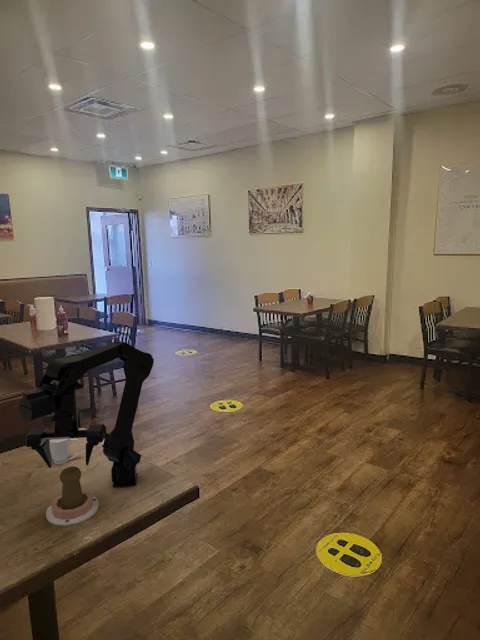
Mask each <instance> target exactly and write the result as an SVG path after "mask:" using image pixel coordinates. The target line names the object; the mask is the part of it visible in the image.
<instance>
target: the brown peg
mask: <svg viewBox="0 0 480 640" xmlns="http://www.w3.org/2000/svg"><path fill="white" fill-rule="evenodd" d="M59 473H60V474H59V480H60V482H61V484H62V488H61V494H62V500H61V509H64V510H67V509H74V508H77V507H80V506H82V505H83V504H84V503H85V502H84V498H83V493H82V490H83V489H82V486H81V481H80V480H81V477H82V471H81V468H79V467H78V466H73V465H72V466H68V467H65V468H64V469H62V470H61V471H60V472H59Z"/></svg>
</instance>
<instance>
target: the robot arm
mask: <svg viewBox="0 0 480 640" xmlns="http://www.w3.org/2000/svg"><path fill="white" fill-rule="evenodd" d="M117 359H118V360H120V361H121V362H122V363H123V368H122V369H123V373H124V377H125V383H124V386H123V391H122V395H121V399H120V402H119V409H118V412H117V415H116V416H117V417H116V420H115V425H114V428H113V429H112V430H111V432H110V433H109V432H107V427H106V424H104V423H100V424H90V425H89V426H88V428H87V429H81V428H82V425H83V413H84V412H79V409H78V404H77V401H78V400H77V391H78V390H80V389H84V384H81V383H79V380H81V379H83V377H84V376H85V374H86V373H88V372H89V371H91V370H95V369H97V368H99V367H102V366H103V365H106V364H108V363H110V362H112V361H113V362H114V361H115V360H117ZM154 362H155V361H154V358H153V355H152V354H151V353H149V352H145V351H142V350H140V349H138V348H135V347H134V346H132V345H131V344H129V343H128V342H125V341H121V340H114V341H113V342H111V343H109V344H106V345H104V346H101V347H99V348H96V349H94V350H91V351H88V352H86V353H83V354H81V355H78V356H67V357H61V358H55V359H52V360H50V361H48V363H47V366H46V370H45V372H44V374H43V375H42V378H41V379H40V381H39V382H38V385H37V386H36V387H37V389H36V390H33V391H27V392H23V393H22V398H21V399H20V401H19V404H18V411H19V414H20V417H21V419H22V420H23V421H24V422H26V423H30V422H33V421H36V420H39V419H42V418H45V417H47V416H50V415H52V417H51V418H52V420H51V421H52V422H53V428H54V429H53V431H49V428H48V427H47V426H46V427H45V426H44V427H33V428H31V430H30V431H29V432H28V433H27V434H26V436H25V438H24V443H25V447H26V448H31V450H33V451H36V452H37V454H38V455H39V456H40V457H41V458H42V460H43V461H44V462H45V464H46V465H47V467H48V468H49V469H51V468H52V467H53V457H52V454H51V451H50V446H49V444H50V440H52V439H68V438H71V439H72V438H75V439H79V438H80V439H81V438H82V439H83V438H86V439H85V440H86V441H87V442H86V443H85V465H86V466H89V463H90V460H91V458H92V453H93V449H94V447H97V446H98V445H99V444H100V443H103V444H102V445H101V448H102V453H103V455H104V456H105V457H106V458H107V459H108V461H109V462H113V463H112V466H111V468H110V472H111V482H112V488H119V487H131V486H137V480H138V473H137V464H139V463H140V462H141V458H142V454H140V453H139V452H137V451H135V449H134V448H135V440H134V435H133V431H132V430H133V427H134V424H135V423H134V422H135V419H136V418H135V417H136V413H137V409H138V404H139V400H140V396H141V393H142V392H141V391H142V388H143V383H144V382H145V381H146V379H148V378H149V376H150V375H151V372H152V369H153V366H154ZM52 382H53V383H52ZM54 383H56V384H54Z"/></svg>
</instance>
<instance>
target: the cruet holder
mask: <svg viewBox="0 0 480 640" xmlns="http://www.w3.org/2000/svg"><path fill="white" fill-rule="evenodd" d="M82 493H83V498H84V502H85V503H84V504H83V505H82V506H80V507H77V508H74V509H67V510H64V509H61V500H62V493H61V494H59V495H58V496H57V497H56V498H54V499H53V500H52V503H51V504H50V505H49V507H48V508H47V509H46V512H45V517H46V520H47V522H48V523H49V524H51V525H53V526H58V527H69V526H74V525H79V524H80V523H84V522H85V521H87V520H89V519H91V518H92V517H94V515H95V514H96V513H97V512H98V511H99V507H100V503H99V500H98V498H97V497H96V496H94V495H93V494H92V493H91V492H90V491H88V490H83V489H82Z"/></svg>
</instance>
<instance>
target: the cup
mask: <svg viewBox="0 0 480 640" xmlns="http://www.w3.org/2000/svg"><path fill="white" fill-rule="evenodd" d="M73 441H75V442H77V443H78V444H79V450H78V452H76V454H74V455H73V456H72V457H70V458H69V456H70V455H69V454H70V450H71V449H70V448H71V442H73ZM49 446H50V452H51V458H52V460H53V463H54V464H55V465H62V464H65V463H67V462H68V461H71V460H73V459H74V458H76V457H77V456H79V454H80V453H81V451H82V444H81V442H80V440H79V438H68V439H52V440H50V444H49Z"/></svg>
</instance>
